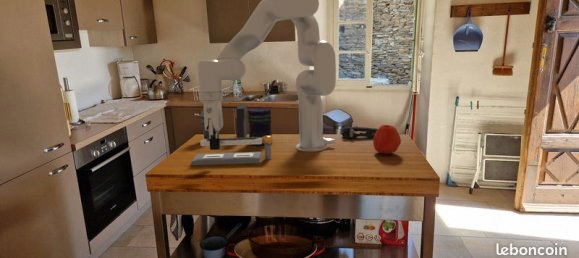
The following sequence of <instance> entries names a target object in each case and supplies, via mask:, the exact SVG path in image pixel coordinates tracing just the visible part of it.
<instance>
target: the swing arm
mask: <svg viewBox="0 0 579 258" xmlns="http://www.w3.org/2000/svg"><path fill="white" fill-rule="evenodd" d="M219 139H220V146H243V145H244V146H245V145H246V146H247V145H248V146H249V145H250V144H262V140H263V143H264V144H270V143H272V144H273V135H272V136H270V135H266V136H262V137H249V136H248V137H246V138H236V137H229V138H228V137H227V138H225V137H223V138H222V137H221V138H220V137H219ZM199 143H200V147H210V141H209V139H201V140H200V142H199Z"/></svg>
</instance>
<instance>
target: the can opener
mask: <svg viewBox="0 0 579 258" xmlns="http://www.w3.org/2000/svg"><path fill="white" fill-rule="evenodd" d="M377 129H378V128H373V127H365V126H364V127H363V126H358V125H355V126H347V127H343V129H342V133H341V136H342V137H343V138H346V139H348V140H353V139H356V138H359V137H361V138H363V137H364V138H371V139H374V136H375V133H376V131H377ZM357 132H359V133H357Z"/></svg>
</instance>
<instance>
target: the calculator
mask: <svg viewBox="0 0 579 258" xmlns="http://www.w3.org/2000/svg"><path fill="white" fill-rule="evenodd" d="M247 115H248V105H247V104H240V105H238V106H237V107H235V134H236V137H235V138H247V136H248V132H247V131H248V129H247Z"/></svg>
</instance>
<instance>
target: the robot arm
mask: <svg viewBox="0 0 579 258" xmlns="http://www.w3.org/2000/svg"><path fill="white" fill-rule="evenodd" d="M319 6H320V0H261V1H260V2H259V3H258V4H257V6H255V9H254V10H253V11H252V14H251V15H250V17H248V20H247V21H246V22H245V24H244V25H243V27H242V28H241V29H240V30H239V31H238V33H237V34H236V35H235V36H233V37H232V38H231V40H230V41H229V42H228V43H227V44H226V45H225V46H224V47H223V49H222V50H221V52H220V53H219V55H218V56H217V57H216V59H202V60H201V59H200V60H198V62H197V71H198V73H197V74H198V87H199V100H200V103H203V108H202V110H203V109H204V124H205V130H206V131H208V130H209V141H210V146H209V150H211V151H217V150H218V151H219V150H220V149H221V145H220V139H219V138H220V130H221V129H222V128H223V127H224V125H225V124H224V117H223V109H222V108H223V107H222V102H223V100H224V96H223V95H224V93H223V81H232V82H235V81H238V80H240V79H242V78H243V77H244V76H245V74H246V71H247V69H246V65H245V63H244V62H243V61H242V58H244V56H246V54H248V53H249V52H251V51H253V50H255V49H257V48H258V47H260V45H262V44H263V43H264V42H265V40H266V38H267V36H268V35H269V33H270V32H271V30H272V29H273V27H274V26H275V24H276V23H277V22H279V21H286V20H291V21H292V23H293V25H294V26H295V29H296V34H297V56H298V61H299V63H300V64H301V65H302V66H306V67H313V69H305V70H302V71H300V72H299V73H298V74H297V75H296V79H295V88H296V93H297V99H298V129H299V130H298V131H299V134H298V135H299V143H297V144H296V145H295V149H296V150H298V151H301V152H320V151H324V150H326V149H328V146H327V145H328V144H329V145H335V144H336V141H335V138H325V137H324V122H323V121H324V117H323V115H324V112H323V110H324V109H323V108H324V107H323V105H324V104H323V99H322V96H323V97H327V96H329V95H331V94H332V93H333V91H334V90H335V88H336V82H337V75H336V73H337V72H336V70H337V69H336V67H337V66H336V63H337V62H336V51H335V49H334V47H333V45H332V44H331V43H330V42H328V41H326V40H321V39H320V38H321V36H320V28H319V27H320V26H319V23H318V20H317V18H316V17H315V16H314V15H315V14H316V13H317V12H318V10H319Z"/></svg>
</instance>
